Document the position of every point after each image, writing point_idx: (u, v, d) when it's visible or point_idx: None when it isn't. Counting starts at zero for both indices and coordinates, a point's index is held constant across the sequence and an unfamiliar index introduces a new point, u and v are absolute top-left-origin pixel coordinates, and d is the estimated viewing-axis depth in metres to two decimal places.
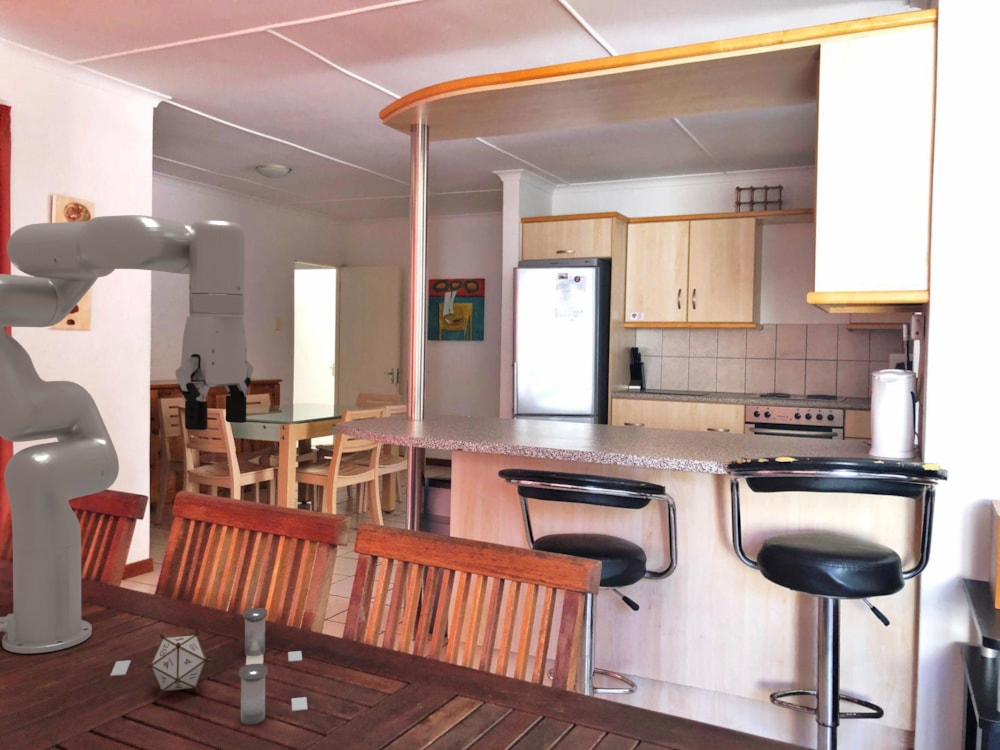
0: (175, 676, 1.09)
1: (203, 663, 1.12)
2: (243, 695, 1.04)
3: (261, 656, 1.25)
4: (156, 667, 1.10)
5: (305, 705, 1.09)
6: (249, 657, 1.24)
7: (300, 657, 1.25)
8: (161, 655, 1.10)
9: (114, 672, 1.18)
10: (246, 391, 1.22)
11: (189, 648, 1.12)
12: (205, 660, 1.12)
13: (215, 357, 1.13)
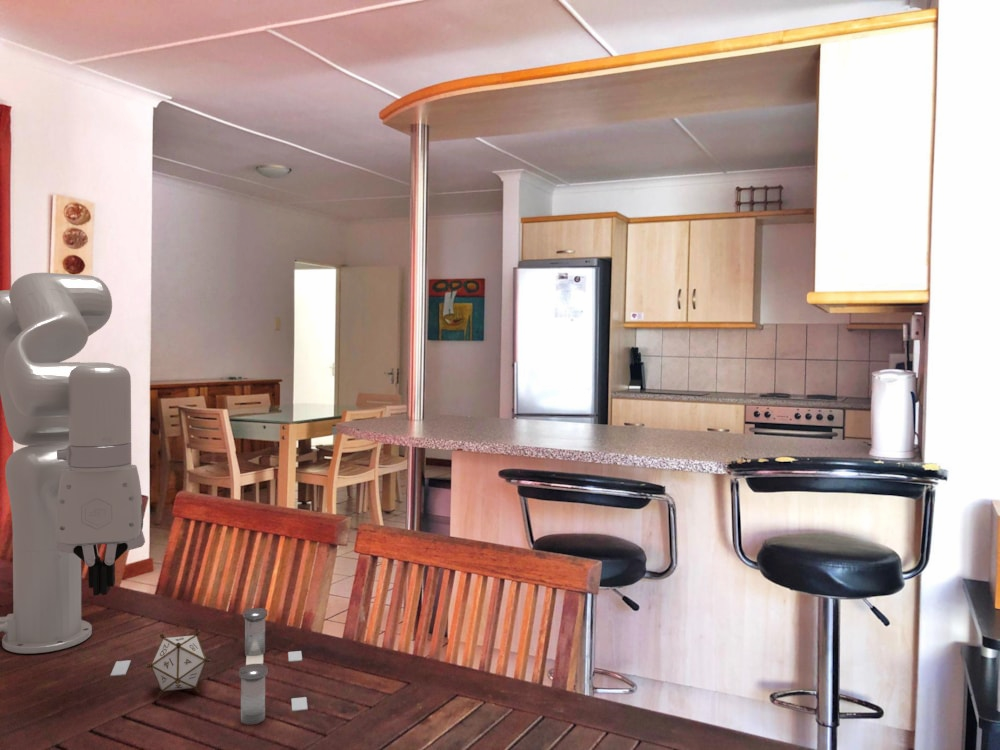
0: (175, 676, 1.09)
1: (203, 663, 1.12)
2: (243, 695, 1.04)
3: (261, 656, 1.25)
4: (156, 667, 1.10)
5: (305, 705, 1.09)
6: (249, 657, 1.24)
7: (300, 657, 1.25)
8: (162, 655, 1.10)
9: (114, 672, 1.18)
10: None
11: (189, 648, 1.12)
12: (205, 660, 1.12)
13: None
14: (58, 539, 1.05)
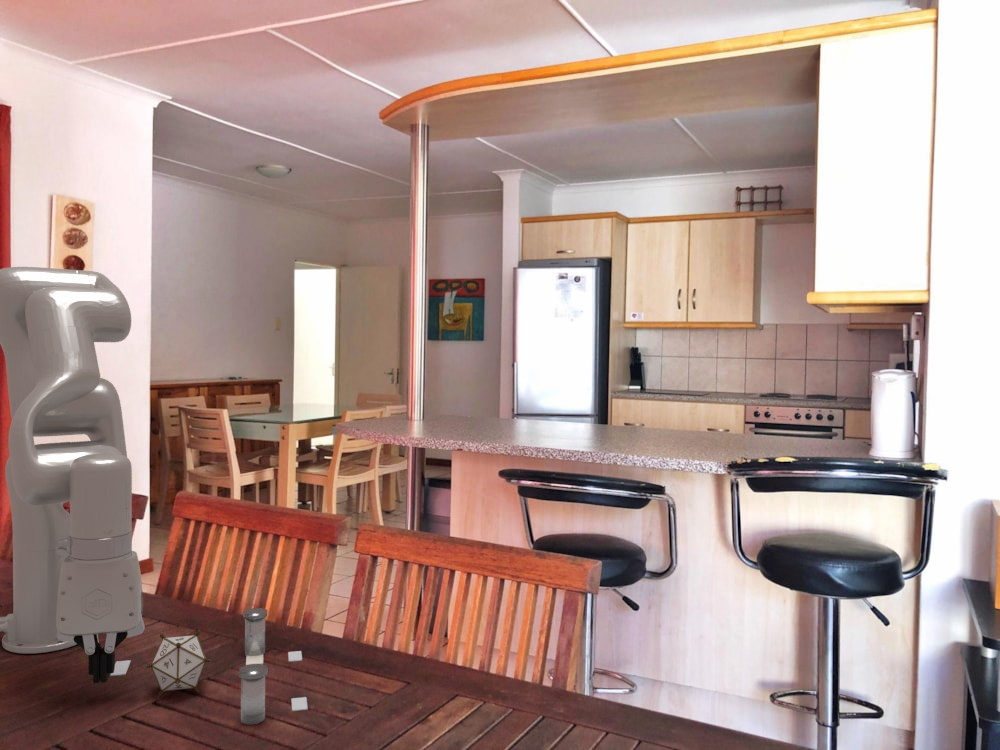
0: (175, 676, 1.09)
1: (203, 663, 1.12)
2: (243, 695, 1.04)
3: (261, 656, 1.25)
4: (156, 667, 1.10)
5: (305, 705, 1.09)
6: (249, 657, 1.24)
7: (300, 657, 1.25)
8: (162, 655, 1.10)
9: (114, 672, 1.18)
10: None
11: (189, 648, 1.12)
12: (205, 660, 1.12)
13: None
14: (59, 630, 1.06)
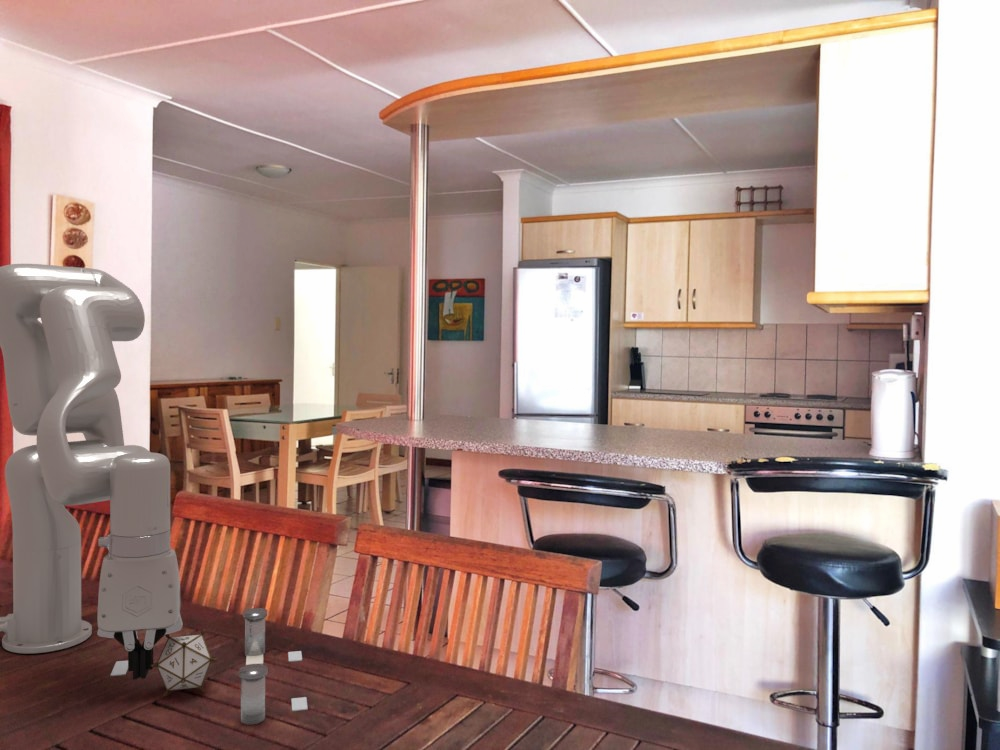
0: (180, 675, 1.09)
1: (209, 662, 1.12)
2: (243, 695, 1.04)
3: (261, 656, 1.25)
4: (161, 666, 1.10)
5: (305, 705, 1.09)
6: (249, 657, 1.24)
7: (300, 657, 1.25)
8: (167, 654, 1.11)
9: (114, 672, 1.18)
10: None
11: (195, 647, 1.12)
12: (211, 659, 1.12)
13: None
14: (99, 626, 1.07)
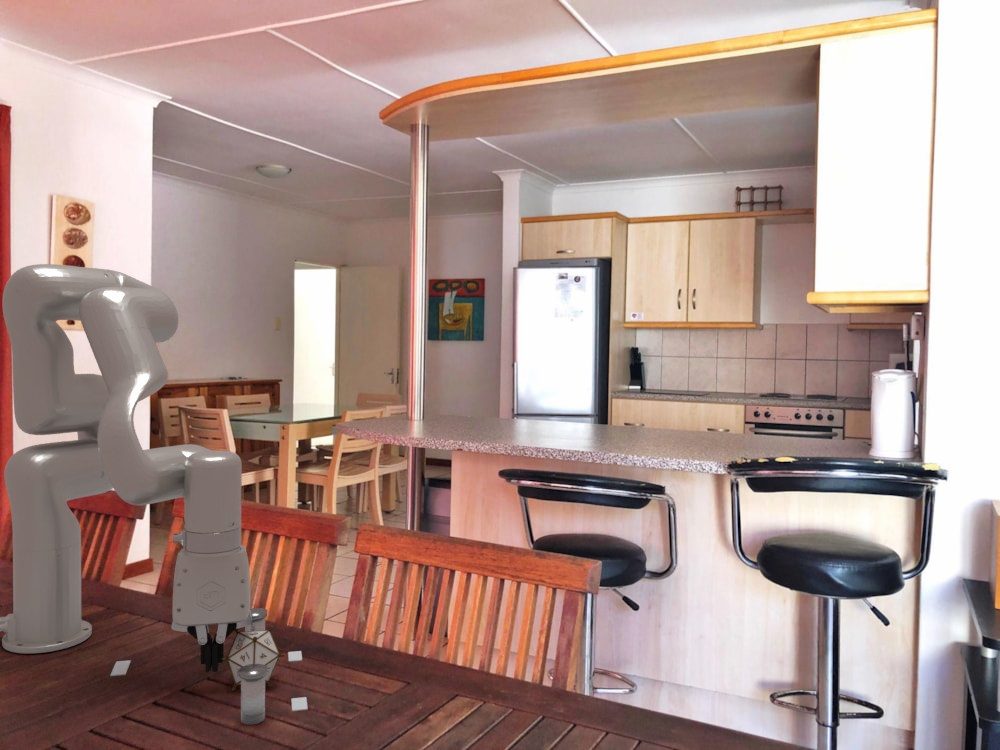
0: None
1: (277, 658, 1.14)
2: (243, 695, 1.04)
3: None
4: (232, 660, 1.12)
5: (305, 705, 1.09)
6: None
7: (300, 657, 1.25)
8: (238, 649, 1.13)
9: (114, 672, 1.18)
10: None
11: (264, 643, 1.14)
12: (279, 655, 1.14)
13: None
14: (174, 620, 1.10)
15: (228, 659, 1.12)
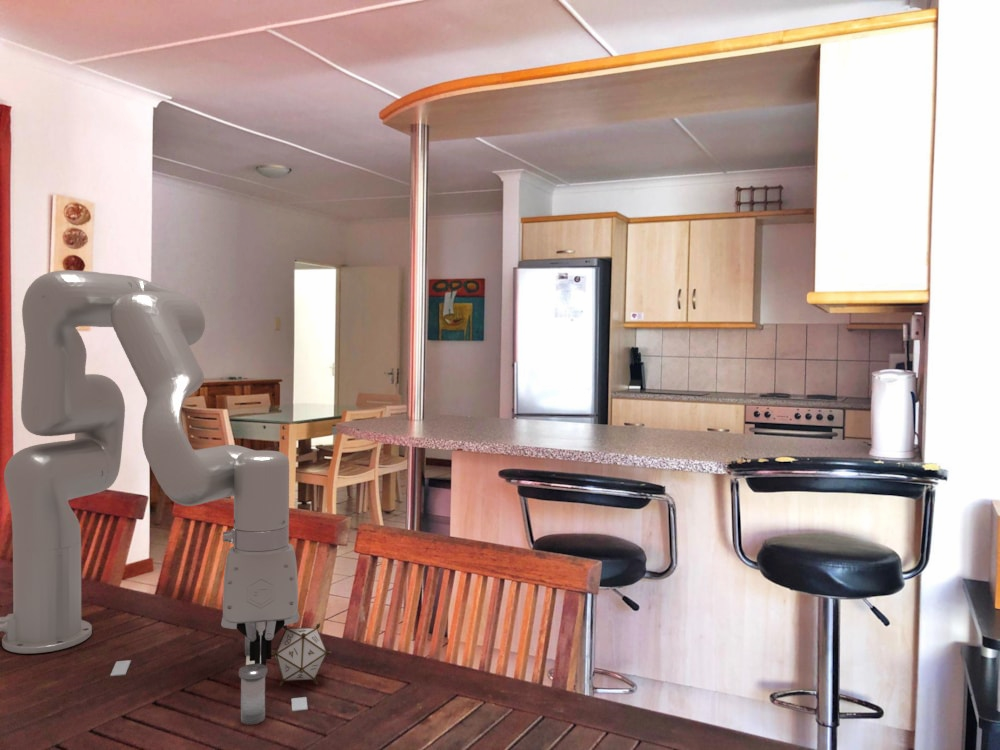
0: (299, 665, 1.13)
1: (324, 655, 1.15)
2: (243, 695, 1.04)
3: None
4: (281, 655, 1.13)
5: (305, 705, 1.09)
6: (249, 657, 1.24)
7: None
8: (286, 644, 1.14)
9: (114, 672, 1.18)
10: None
11: (312, 640, 1.15)
12: (326, 652, 1.15)
13: None
14: (225, 617, 1.12)
15: (277, 654, 1.13)
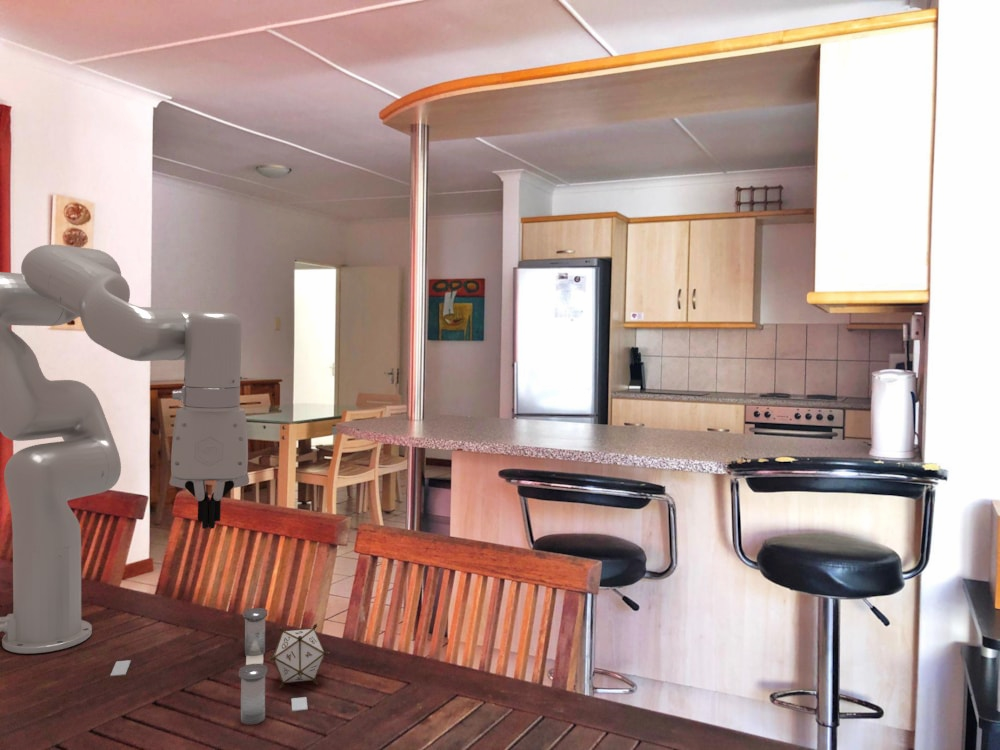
0: (297, 668, 1.13)
1: (322, 656, 1.15)
2: (243, 695, 1.04)
3: (261, 656, 1.25)
4: (278, 659, 1.13)
5: (305, 705, 1.09)
6: (249, 657, 1.24)
7: None
8: (283, 648, 1.14)
9: (114, 672, 1.18)
10: None
11: (309, 641, 1.15)
12: (324, 653, 1.15)
13: None
14: (173, 474, 1.12)
15: (274, 658, 1.13)
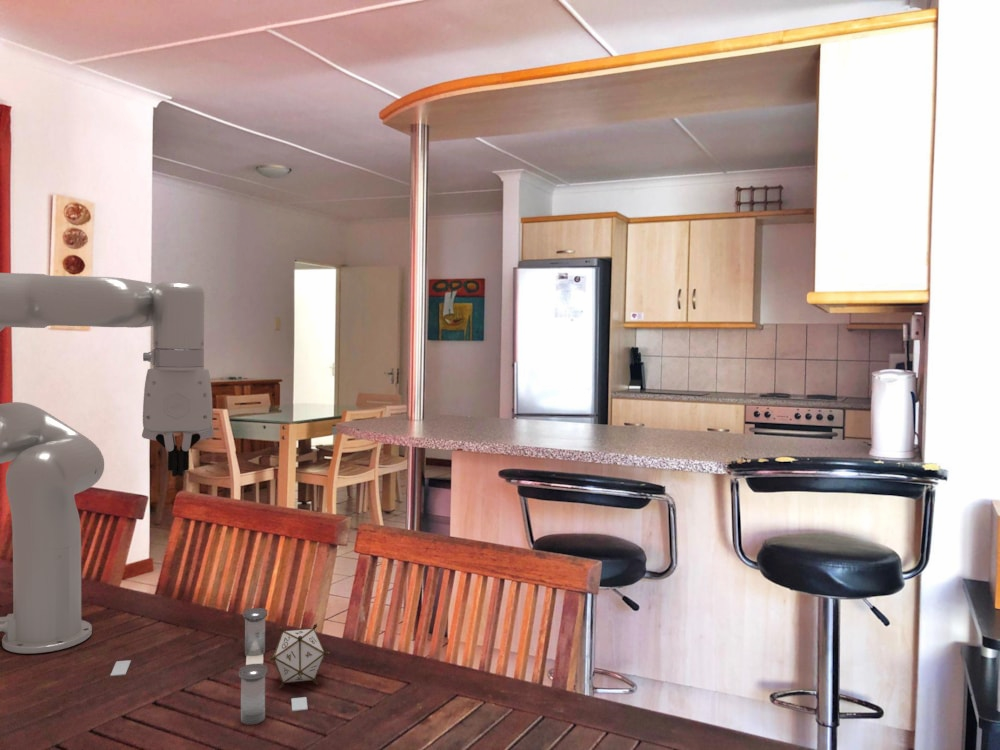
0: (297, 668, 1.13)
1: (322, 656, 1.15)
2: (243, 695, 1.04)
3: (261, 656, 1.25)
4: (278, 659, 1.13)
5: (305, 705, 1.09)
6: (249, 657, 1.24)
7: None
8: (284, 648, 1.14)
9: (114, 672, 1.18)
10: None
11: (309, 641, 1.15)
12: (324, 653, 1.15)
13: None
14: (144, 426, 1.25)
15: (274, 658, 1.13)
